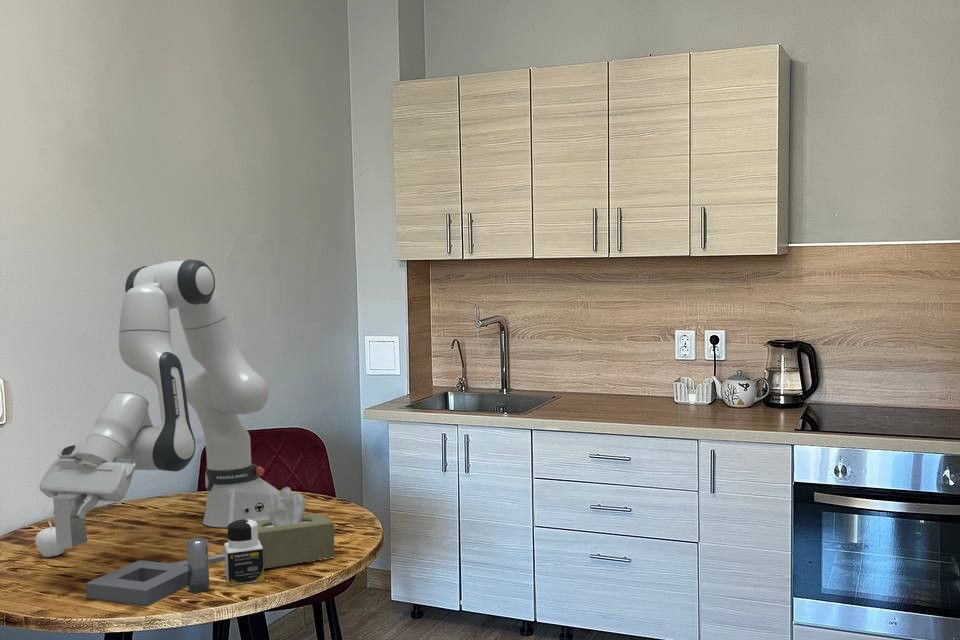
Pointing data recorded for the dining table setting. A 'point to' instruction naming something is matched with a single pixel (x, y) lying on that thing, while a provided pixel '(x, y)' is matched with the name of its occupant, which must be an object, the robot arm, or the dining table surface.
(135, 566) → the socket block
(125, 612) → the dining table surface
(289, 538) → the tissue box
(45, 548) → the plain white apple
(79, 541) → the square bit
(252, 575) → the medicine bottle
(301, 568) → the dining table surface
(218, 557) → the adjustable wrench
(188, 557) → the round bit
